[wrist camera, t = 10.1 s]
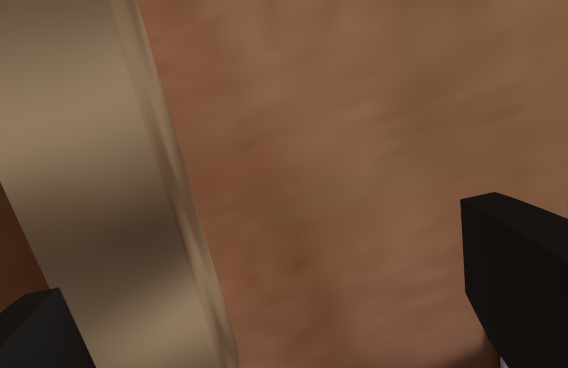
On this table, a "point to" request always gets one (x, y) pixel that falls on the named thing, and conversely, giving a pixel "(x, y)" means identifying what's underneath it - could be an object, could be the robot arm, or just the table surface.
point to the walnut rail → (106, 185)
